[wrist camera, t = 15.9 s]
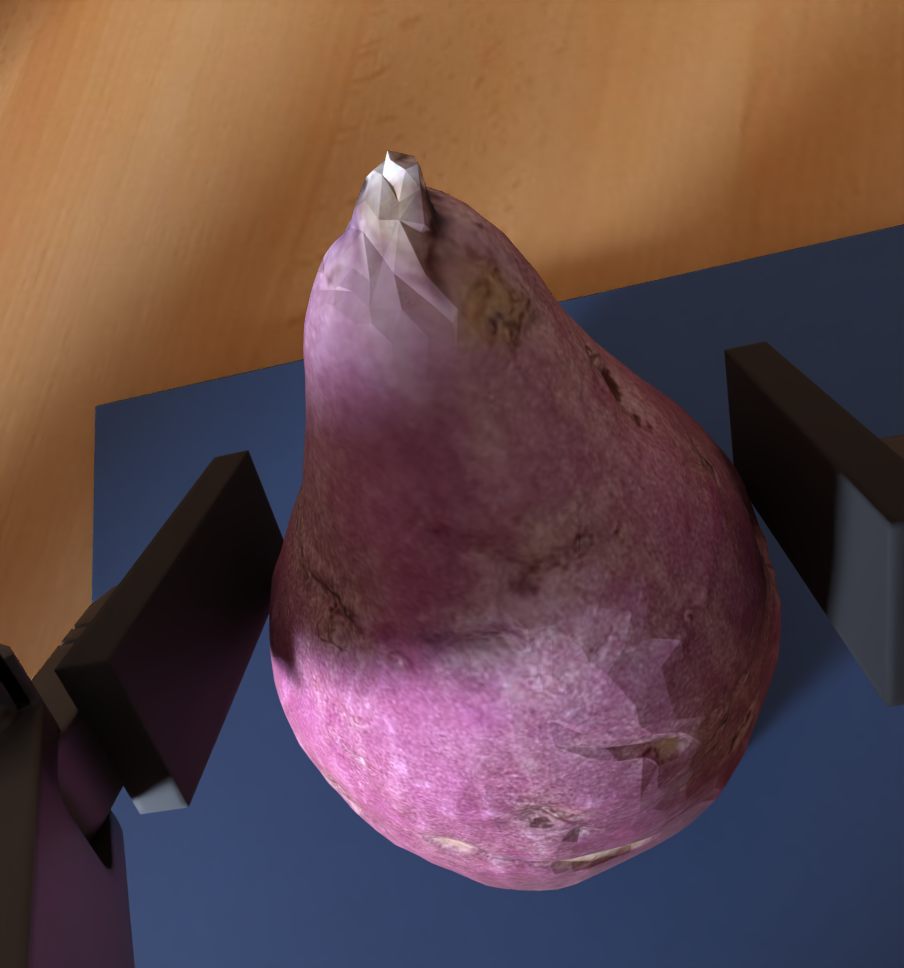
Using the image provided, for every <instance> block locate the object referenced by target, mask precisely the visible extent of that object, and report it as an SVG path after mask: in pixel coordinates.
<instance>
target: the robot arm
mask: <svg viewBox="0 0 904 968" xmlns="http://www.w3.org/2000/svg"><path fill="white" fill-rule="evenodd" d="M724 355H725V367H726V379H727V392H728V404H729V416H730V428H731V441H732V453H733V465H734V467H735V468H736V469H737V471H738V473H739V475H740V477H741V479H742V481H743V483H744V485H745V487H746V490H747V494H748V496H749V498H750V500H751V503H752V504H753V506H754V507H755V509H756V510H757V512H758V513H759V515H760V516H761V518H762V519H763V521H764V522H765V524H766V525H767V527H768V528H769V530H770V531H771V533H772V534H773V536H774V537H775V539H776V540H777V542H778V543H779V545H780V546H781V548H782V549H783V551H784V552H785V554H786V555H787V557H788V558H789V560H790V561H791V563H792V564H793V566H794V567H795V569H796V571H797V572H798V574H799V575H800V577H801V578H802V580H803V581H804V583H805V584H806V586H807V587H808V589H809V590H810V592H811V593H812V595H813V596H814V598H815V599H816V601H817V602H818V604H819V605H820V607H821V608H822V610H823V611H824V613H825V614H826V616H827V617H828V619H829V620H830V622H831V623H832V625H833V626H834V628H835V629H836V631H837V632H838V634H839V635H840V637H841V638H842V640H843V641H844V643H845V644H846V646H847V647H848V649H849V650H850V652H851V653H852V655H853V656H854V658H855V659H856V661H857V663H858V664H859V666H860V667H861V669H862V670H863V672H864V673H865V675H866V676H867V678H868V679H869V681H870V682H871V684H872V685H873V687H874V688H875V690H876V691H877V693H878V694H879V696H880V697H881V699H882V700H883V702H884V703H885V705H886V706H887V707H892V706H899V705H904V434H903V435H898V436H892V437H887V438H882V439H879V438H878V437H877V436H876V435H874V434H873V433H872V432H871V431H870V430H869V429H867V428H866V427H865V426H864V425H863V424H862V423H860V422H859V421H858V420H857V419H856V418H855V417H853V416H852V415H851V414H850V413H849V412H848V411H846V410H845V409H844V408H843V407H842V406H841V405H839V404H838V403H837V402H836V401H835V400H834V399H832V398H831V397H830V396H829V395H828V394H827V393H825V392H824V391H823V390H822V389H821V388H820V387H818V386H817V385H816V384H815V383H814V382H813V381H811V380H810V379H809V378H808V377H807V376H806V375H804V374H803V373H802V372H801V371H800V370H799V369H797V368H796V367H795V366H794V365H793V364H792V363H790V362H789V361H788V360H787V359H786V358H785V357H783V356H782V355H781V354H780V353H779V352H778V351H776V350H775V349H774V348H773V347H772V346H771V345H769V344H768V343H767V342H766V341H764V342H759V343H754V344H750V345H745V346H740V347H735V348H731V349H726V350H724ZM283 542H284V540H283V537H282V535H281V532H280V529H279V527H278V524H277V522H276V519H275V517H274V514H273V511H272V509H271V506H270V504H269V501H268V499H267V496H266V494H265V491H264V488H263V486H262V483H261V481H260V478H259V476H258V473H257V470H256V468H255V465H254V463H253V460H252V458H251V455H250V453H249V450H246V451H242V452H237V453H232V454H228V455H223V456H218V457H214V458H213V460H212V461H211V462H210V464H209V465H208V466H207V468H206V469H205V470H204V472H203V473H202V474H201V476H200V477H199V478H198V480H197V481H196V482H195V484H194V485H193V486H192V488H191V489H190V490H189V491H188V493H187V494H186V495H185V497H184V498H183V499H182V501H181V502H180V503H179V505H178V506H177V507H176V509H175V510H174V511H173V513H172V514H171V515H170V517H169V518H168V519H167V521H166V522H165V523H164V525H163V526H162V527H161V529H160V530H159V531H158V533H157V534H156V535H155V537H154V538H153V539H152V541H151V542H150V543H149V545H148V546H147V547H146V549H145V550H144V551H143V553H142V554H141V555H140V557H139V558H138V559H137V561H136V562H135V563H134V565H133V566H132V567H131V569H130V570H129V571H128V573H127V574H126V575H125V577H124V578H123V579H122V581H121V582H120V583H119V585H118V586H114V587H112V588H111V589H110V590H109V591H107V592H106V593H105V594H104V595H102V596H101V597H100V598H99V599H97V600H96V601H95V602H94V603H92V604H91V605H90V606H89V607H88V609H87V610H86V611H85V612H84V614H83V615H82V616H81V618H80V619H79V620H78V621H77V623H76V624H75V625H74V626H75V629H71V630H70V632H69V633H68V634H67V636H66V637H65V638H64V639H63V641H62V646H58V647H57V648H56V650H55V651H54V652H53V654H52V655H51V656H50V657H49V659H48V660H47V661H46V663H45V664H44V665H43V666H42V668H41V669H40V670H39V672H38V673H37V674H36V675H35V677H34V678H33V679H32V681H31V680H30V678H29V676H28V675H27V673H26V672H25V670H24V668H23V667H22V665H21V664H20V662H19V660H18V659H17V657H16V655H15V654H14V652H13V651H12V649H11V647H9V646H6V645H3V644H0V968H135V965H134V953H133V942H132V931H131V919H130V908H129V897H128V885H127V874H126V863H125V851H124V840H123V831H122V828H121V826H120V824H119V822H118V820H117V818H116V817H115V815H114V813H113V812H112V810H111V808H112V806H113V804H114V802H115V801H116V799H117V797H118V795H119V793H120V791H121V789H122V787H123V786H124V788H125V790H126V791H127V793H128V795H129V796H130V798H131V800H132V801H133V803H134V805H135V806H136V808H137V810H138V811H139V813H140V814H146V813H153V812H160V811H167V810H174V809H180V808H187V807H189V805H190V803H191V800H192V798H193V796H194V793H195V791H196V788H197V786H198V784H199V781H200V779H201V776H202V774H203V772H204V769H205V767H206V764H207V762H208V760H209V757H210V755H211V752H212V750H213V748H214V745H215V743H216V740H217V738H218V736H219V733H220V731H221V728H222V726H223V723H224V721H225V719H226V716H227V714H228V711H229V709H230V707H231V704H232V702H233V699H234V697H235V695H236V692H237V690H238V687H239V685H240V683H241V680H242V678H243V675H244V673H245V671H246V668H247V666H248V663H249V661H250V659H251V656H252V654H253V651H254V649H255V647H256V644H257V642H258V639H259V637H260V635H261V632H262V630H263V627H264V625H265V623H266V620H267V618H268V615H269V603H270V593H271V583H272V576H273V572H274V569H275V565H276V562H277V560H278V557H279V555H280V552H281V549H282V545H283Z"/></svg>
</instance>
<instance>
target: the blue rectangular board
mask: <svg viewBox="0 0 904 968" xmlns="http://www.w3.org/2000/svg"><path fill="white" fill-rule="evenodd" d="M558 303H559V304H560V305H561V306H562V307H563V309H564V310H565V311H566V312H567V313H568V314H569V316H570V317H571V318H572V319H573V320H574V321H575V322H576V323H577V324H578V325H579V326H580V327H581V328H582V329H583V330H584V331H585V332H586V333H587V334H588V335H589V336H590V337H591V338H592V339H593V340H594V341H595V342H596V343H597V344H599V345H600V346H601V347H602V348H604V349H605V350H606V351H607V352H609V353H610V354H611V355H612V356H614V357H615V358H616V359H617V360H619V361H620V362H621V363H623V364H624V365H625V366H626V367H628V368H629V369H630V370H632V371H633V372H634V373H635V374H637V375H638V376H639V377H640V378H641V379H642V380H644V381H646V382H647V383H649V384H650V385H652V386H653V387H654V388H656V389H657V390H659V391H660V392H662V393H664V394H665V395H666V396H667V397H669V398H670V399H671V400H673V401H674V402H675V403H676V404H678V405H679V406H680V407H681V408H683V409H684V410H685V411H686V412H687V413H688V414H689V415H690V416H691V417H692V418H693V419H694V420H695V421H696V422H697V423H698V424H699V425H700V426H701V427H703V428H704V430H705V431H706V432H707V434H708V435H709V436H710V437H711V439H712V440H713V441H714V442H715V443H716V444H717V445H718V446H719V447H720V448H721V449H722V450H723V452H724V453H725V454H726V455H727V456H728V458H729V459H730V461H731V462H732V464H733V453H732V441H731V428H730V416H729V404H728V392H727V379H726V367H725V355H724V350H726V349H731V348H735V347H740V346H745V345H750V344H754V343H759V342H764V341H766V342H767V343H768V344H769V345H771V346H772V347H773V348H774V349H775V350H776V351H778V352H779V353H780V354H781V355H782V356H783V357H785V358H786V359H787V360H788V361H789V362H790V363H792V364H793V365H794V366H795V367H796V368H797V369H799V370H800V371H801V372H802V373H803V374H804V375H806V376H807V377H808V378H809V379H810V380H811V381H813V382H814V383H815V384H816V385H817V386H818V387H820V388H821V389H822V390H823V391H824V392H825V393H827V394H828V395H829V396H830V397H831V398H832V399H834V400H835V401H836V402H837V403H838V404H839V405H841V406H842V407H843V408H844V409H845V410H846V411H848V412H849V413H850V414H851V415H852V416H853V417H855V418H856V419H857V420H858V421H859V422H860V423H862V424H863V425H864V426H865V427H866V428H867V429H869V430H870V431H871V432H872V433H873V434H874V435H876V436H877V437H878V438H879V439H882V438H887V437H892V436H898V435H903V434H904V224H903V225H899V226H894V227H890V228H885V229H881V230H877V231H872V232H868V233H863V234H859V235H854V236H850V237H845V238H841V239H836V240H832V241H828V242H823V243H819V244H814V245H810V246H805V247H801V248H796V249H792V250H788V251H783V252H779V253H774V254H770V255H765V256H761V257H756V258H752V259H748V260H743V261H739V262H734V263H730V264H725V265H721V266H716V267H712V268H708V269H703V270H699V271H694V272H690V273H685V274H681V275H676V276H672V277H667V278H663V279H659V280H654V281H650V282H645V283H641V284H636V285H632V286H627V287H623V288H619V289H614V290H610V291H605V292H601V293H596V294H592V295H587V296H583V297H579V298H574V299H570V300H565V301H561V302H558ZM305 427H306V396H305V366H304V359H303V360H298V361H294V362H289V363H285V364H281V365H276V366H272V367H267V368H263V369H258V370H254V371H249V372H245V373H241V374H236V375H232V376H227V377H223V378H218V379H214V380H209V381H205V382H201V383H196V384H192V385H187V386H183V387H178V388H174V389H169V390H165V391H160V392H156V393H152V394H147V395H143V396H138V397H134V398H129V399H125V400H120V401H116V402H112V403H107V404H103V405H98V406H96V407H95V454H94V508H93V562H92V603H94V602H95V601H96V600H97V599H99V598H100V597H101V596H102V595H104V594H105V593H106V592H107V591H109V590H110V589H111V588H112V587H114V586H118V585H119V583H120V582H121V581H122V579H123V578H124V577H125V575H126V574H127V573H128V571H129V570H130V569H131V567H132V566H133V565H134V563H135V562H136V561H137V559H138V558H139V557H140V555H141V554H142V553H143V551H144V550H145V549H146V547H147V546H148V545H149V543H150V542H151V541H152V539H153V538H154V537H155V535H156V534H157V533H158V531H159V530H160V529H161V527H162V526H163V525H164V523H165V522H166V521H167V519H168V518H169V517H170V515H171V514H172V513H173V511H174V510H175V509H176V507H177V506H178V505H179V503H180V502H181V501H182V499H183V498H184V497H185V495H186V494H187V493H188V491H189V490H190V489H191V488H192V486H193V485H194V484H195V482H196V481H197V480H198V478H199V477H200V476H201V474H202V473H203V472H204V470H205V469H206V468H207V466H208V465H209V464H210V462H211V461H212V460H213V458H214V457H218V456H223V455H228V454H232V453H237V452H242V451H246V450H249V453H250V455H251V458H252V460H253V463H254V465H255V468H256V470H257V473H258V476H259V478H260V481H261V483H262V486H263V488H264V491H265V494H266V496H267V499H268V501H269V504H270V506H271V509H272V511H273V514H274V517H275V519H276V522H277V524H278V527H279V529H280V532H281V535H282V537H283V540H284V538H285V534H286V530H287V527H288V523H289V520H290V516H291V513H292V509H293V507H294V504H295V502H296V499H297V496H298V494H299V491H300V488H301V485H302V482H303V459H304V442H305ZM752 506H753V504H752ZM753 509H754V512H755V515H756V518H757V521H758V524H759V526H760V528H761V530H762V532H763V534H764V536H765V538H766V540H767V546H768V554H769V559H770V561H771V563H772V566H773V568H774V571H775V577H776V583H777V589H778V594H779V598H780V601H781V633H780V648H779V657H778V661H777V665H776V668H775V672H774V675H773V678H772V681H771V685H770V687H769V690H768V692H767V695H766V697H765V700H764V703H763V706H762V708H761V711H760V713H759V716H758V718H757V721H756V723H755V726H754V729H753V732H752V734H751V737H750V740H749V743H748V746H747V748H746V751H745V753H744V755H743V757H742V759H741V760H740V762H739V764H738V766H737V768H736V769H735V771H734V773H733V774H732V776H731V777H730V779H729V781H728V782H727V784H726V786H725V787H724V789H723V790H722V792H721V794H720V795H719V796H718V798H717V799H716V800H715V801H714V802H713V803H712V804H711V805H710V806H709V807H708V808H707V809H706V810H705V811H704V812H703V813H702V814H701V815H700V816H698V817H697V818H696V819H695V820H694V821H693V822H692V823H691V824H689V825H688V826H687V827H685V828H684V829H683V830H681V831H680V832H678V833H677V834H675V835H673V836H672V837H670V838H668V839H666V840H665V841H663V842H661V843H659V844H658V845H656V846H654V847H652V848H650V849H648V850H646V851H644V852H642V853H640V854H638V855H636V856H634V857H632V858H630V859H628V860H626V861H624V862H622V863H620V864H618V865H616V866H614V867H612V868H610V869H607V870H605V871H603V872H601V873H599V874H597V875H595V876H592V877H590V878H588V879H586V880H584V881H582V882H580V883H577V884H574V885H571V886H568V887H564V888H561V889H558V890H542V891H528V890H514V889H503V888H497V887H492V886H487V885H484V884H482V883H479V882H477V881H475V880H472V879H470V878H468V877H465V876H463V875H461V874H459V873H456V872H454V871H451V870H448V869H446V868H443V867H441V866H438V865H436V864H433V863H431V862H429V861H427V860H425V859H424V858H422V857H420V856H418V855H416V854H414V853H412V852H410V851H408V850H406V849H404V848H401V847H399V846H397V845H395V844H394V843H392V842H391V841H390V840H388V839H387V838H386V837H384V836H383V835H382V834H380V833H379V832H378V831H376V830H375V829H374V828H373V827H372V826H371V825H369V824H368V823H367V822H366V821H365V820H364V819H363V818H362V817H360V816H359V815H358V814H357V813H356V812H355V811H354V810H353V809H352V808H351V807H350V805H349V804H348V803H347V802H346V801H345V800H344V799H343V797H342V796H341V795H340V794H339V793H338V792H337V791H336V790H335V789H334V788H333V787H332V786H331V785H330V784H329V783H328V782H327V780H326V779H325V778H324V776H323V775H322V773H321V772H320V771H319V769H318V768H317V767H316V766H315V764H314V763H313V762H312V760H311V759H310V758H309V757H308V755H307V754H306V752H305V751H304V750H303V748H302V747H301V746H300V744H299V742H298V740H297V738H296V736H295V734H294V732H293V730H292V728H291V725H290V723H289V721H288V719H287V717H286V715H285V712H284V710H283V707H282V705H281V702H280V699H279V696H278V692H277V689H276V685H275V681H274V674H273V668H272V660H271V652H270V640H269V615H268V618H267V620H266V623H265V625H264V627H263V630H262V632H261V635H260V637H259V639H258V642H257V644H256V647H255V649H254V651H253V654H252V656H251V659H250V661H249V663H248V666H247V668H246V671H245V673H244V675H243V678H242V680H241V683H240V685H239V687H238V690H237V692H236V695H235V697H234V699H233V702H232V704H231V707H230V709H229V711H228V714H227V716H226V719H225V721H224V723H223V726H222V728H221V731H220V733H219V736H218V738H217V740H216V743H215V745H214V748H213V750H212V752H211V755H210V757H209V760H208V762H207V764H206V767H205V769H204V772H203V774H202V776H201V779H200V781H199V784H198V786H197V788H196V791H195V793H194V796H193V798H192V800H191V803H190V805H189V807H187V808H180V809H174V810H167V811H160V812H153V813H146V814H140V813H139V811H138V810H137V808H136V806H135V805H134V803H133V801H132V800H131V798H130V796H129V795H128V793H127V791H126V790H125V788H124V786H123V787H122V789H121V791H120V793H119V795H118V797H117V799H116V801H115V802H114V804H113V806H112V808H111V810H112V812H113V813H114V815H115V817H116V818H117V820H118V822H119V824H120V826H121V828H122V831H123V840H124V851H125V863H126V874H127V885H128V897H129V908H130V919H131V931H132V942H133V953H134V965H135V968H904V705H899V706H892V707H887V706H886V705H885V703H884V702H883V700H882V699H881V697H880V696H879V694H878V693H877V691H876V690H875V688H874V687H873V685H872V684H871V682H870V681H869V679H868V678H867V676H866V675H865V673H864V672H863V670H862V669H861V667H860V666H859V664H858V663H857V661H856V659H855V658H854V656H853V655H852V653H851V652H850V650H849V649H848V647H847V646H846V644H845V643H844V641H843V640H842V638H841V637H840V635H839V634H838V632H837V631H836V629H835V628H834V626H833V625H832V623H831V622H830V620H829V619H828V617H827V616H826V614H825V613H824V611H823V610H822V608H821V607H820V605H819V604H818V602H817V601H816V599H815V598H814V596H813V595H812V593H811V592H810V590H809V589H808V587H807V586H806V584H805V583H804V581H803V580H802V578H801V577H800V575H799V574H798V572H797V571H796V569H795V567H794V566H793V564H792V563H791V561H790V560H789V558H788V557H787V555H786V554H785V552H784V551H783V549H782V548H781V546H780V545H779V543H778V542H777V540H776V539H775V537H774V536H773V534H772V533H771V531H770V530H769V528H768V527H767V525H766V524H765V522H764V521H763V519H762V518H761V516H760V515H759V513H758V512H757V510H756V509H755V507H754V506H753Z"/></svg>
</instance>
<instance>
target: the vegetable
mask: <svg viewBox="0 0 904 968" xmlns="http://www.w3.org/2000/svg"><path fill="white" fill-rule="evenodd" d="M303 355H304V366H305V396H306V427H305V442H304V459H303V482H302V485H301V488H300V491H299V494H298V496H297V499H296V502H295V504H294V507H293V509H292V513H291V516H290V520H289V523H288V527H287V530H286V534H285V538H284V542H283V545H282V549H281V552H280V555H279V557H278V560H277V562H276V565H275V569H274V572H273V576H272V583H271V593H270V603H269V640H270V652H271V660H272V668H273V674H274V681H275V685H276V689H277V692H278V696H279V699H280V702H281V705H282V707H283V710H284V712H285V715H286V717H287V719H288V721H289V723H290V725H291V728H292V730H293V732H294V734H295V736H296V738H297V740H298V742H299V744H300V746H301V747H302V748H303V750H304V751H305V752H306V754H307V755H308V757H309V758H310V759H311V760H312V762H313V763H314V764H315V766H316V767H317V768H318V769H319V771H320V772H321V773H322V775H323V776H324V778H325V779H326V780H327V782H328V783H329V784H330V785H331V786H332V787H333V788H334V789H335V790H336V791H337V792H338V793H339V794H340V795H341V796H342V797H343V799H344V800H345V801H346V802H347V803H348V804H349V805H350V807H351V808H352V809H353V810H354V811H355V812H356V813H357V814H358V815H359V816H360V817H362V818H363V819H364V820H365V821H366V822H367V823H368V824H369V825H371V826H372V827H373V828H374V829H375V830H376V831H378V832H379V833H380V834H382V835H383V836H384V837H386V838H387V839H388V840H390V841H391V842H392V843H394V844H395V845H397V846H399V847H401V848H404V849H406V850H408V851H410V852H412V853H414V854H416V855H418V856H420V857H422V858H424V859H425V860H427V861H429V862H431V863H433V864H436V865H438V866H441V867H443V868H446V869H448V870H451V871H454V872H456V873H459V874H461V875H463V876H465V877H468V878H470V879H472V880H475V881H477V882H479V883H482V884H484V885H487V886H492V887H497V888H503V889H514V890H528V891H542V890H558V889H561V888H564V887H568V886H571V885H574V884H577V883H580V882H582V881H584V880H586V879H588V878H590V877H592V876H595V875H597V874H599V873H601V872H603V871H605V870H607V869H610V868H612V867H614V866H616V865H618V864H620V863H622V862H624V861H626V860H628V859H630V858H632V857H634V856H636V855H638V854H640V853H642V852H644V851H646V850H648V849H650V848H652V847H654V846H656V845H658V844H659V843H661V842H663V841H665V840H666V839H668V838H670V837H672V836H673V835H675V834H677V833H678V832H680V831H681V830H683V829H684V828H685V827H687V826H688V825H689V824H691V823H692V822H693V821H694V820H695V819H696V818H697V817H698V816H700V815H701V814H702V813H703V812H704V811H705V810H706V809H707V808H708V807H709V806H710V805H711V804H712V803H713V802H714V801H715V800H716V799H717V798H718V796H719V795H720V794H721V792H722V790H723V789H724V787H725V786H726V784H727V782H728V781H729V779H730V777H731V776H732V774H733V773H734V771H735V769H736V768H737V766H738V764H739V762H740V760H741V759H742V757H743V755H744V753H745V751H746V748H747V746H748V743H749V740H750V737H751V734H752V732H753V729H754V726H755V723H756V721H757V718H758V716H759V713H760V711H761V708H762V706H763V703H764V700H765V697H766V695H767V692H768V690H769V687H770V685H771V681H772V678H773V675H774V672H775V668H776V665H777V661H778V657H779V648H780V633H781V601H780V598H779V594H778V589H777V583H776V577H775V571H774V568H773V566H772V563H771V561H770V559H769V554H768V546H767V540H766V538H765V536H764V534H763V532H762V530H761V528H760V526H759V524H758V521H757V518H756V515H755V512H754V509H753V506H752V503H751V500H750V498H749V496H748V494H747V490H746V487H745V485H744V483H743V481H742V479H741V477H740V475H739V473H738V471H737V469H736V468H735V467H734V465H733V464H732V462H731V461H730V459H729V458H728V456H727V455H726V454H725V453H724V452H723V450H722V449H721V448H720V447H719V446H718V445H717V444H716V443H715V442H714V441H713V440H712V439H711V437H710V436H709V435H708V434H707V432H706V431H705V430H704V428H703V427H701V426H700V425H699V424H698V423H697V422H696V421H695V420H694V419H693V418H692V417H691V416H690V415H689V414H688V413H687V412H686V411H685V410H684V409H683V408H681V407H680V406H679V405H678V404H676V403H675V402H674V401H673V400H671V399H670V398H669V397H667V396H666V395H665V394H664V393H662V392H660V391H659V390H657V389H656V388H654V387H653V386H652V385H650V384H649V383H647V382H646V381H644V380H642V379H641V378H640V377H639V376H638V375H637V374H635V373H634V372H633V371H632V370H630V369H629V368H628V367H626V366H625V365H624V364H623V363H621V362H620V361H619V360H617V359H616V358H615V357H614V356H612V355H611V354H610V353H609V352H607V351H606V350H605V349H604V348H602V347H601V346H600V345H599V344H597V343H596V342H595V341H594V340H593V339H592V338H591V337H590V336H589V335H588V334H587V333H586V332H585V331H584V330H583V329H582V328H581V327H580V326H579V325H578V324H577V323H576V322H575V321H574V320H573V319H572V318H571V317H570V316H569V314H568V313H567V312H566V311H565V310H564V309H563V307H562V306H561V305H560V304H559V303H558V302H557V300H556V299H555V298H554V296H553V295H552V293H551V292H550V290H549V289H548V287H547V286H546V284H545V283H544V282H543V280H542V279H541V277H540V276H539V274H538V273H537V271H536V270H535V269H534V268H533V267H532V266H531V264H530V263H529V262H528V261H527V260H526V259H525V257H524V256H523V255H522V254H521V253H520V252H519V250H518V249H517V248H516V247H515V246H514V244H513V243H512V242H511V241H510V240H509V239H508V237H507V236H506V235H505V234H504V233H503V232H502V231H500V230H499V229H498V228H497V227H495V226H494V225H493V224H492V223H490V222H489V221H488V220H486V219H485V218H484V217H483V216H481V215H480V214H479V213H478V212H476V211H475V210H474V209H472V208H471V207H470V206H469V205H467V204H466V203H464V202H462V201H460V200H458V199H456V198H454V197H452V196H450V195H448V194H446V193H444V192H442V191H439V190H435V189H432V188H429V187H426V184H425V181H424V178H423V174H422V171H421V168H420V166H419V164H418V162H417V160H416V158H415V157H414V156H411V155H407V154H403V153H398V152H394V151H390V150H387V155H386V159H385V160H384V161H383V162H382V163H381V164H379V165H378V166H377V167H376V168H375V169H374V170H373V171H372V172H371V173H370V174H369V175H368V176H367V177H366V178H365V181H364V184H363V186H362V189H361V191H360V194H359V197H358V199H357V202H356V204H355V207H354V210H353V216H352V218H351V220H350V222H349V224H348V226H347V228H346V230H345V232H344V233H343V234H342V235H341V236H340V237H339V238H338V239H337V240H336V241H335V242H334V243H333V244H332V245H331V247H330V248H329V250H328V251H327V253H326V254H325V256H324V257H323V260H322V262H321V265H320V267H319V270H318V273H317V276H316V279H315V282H314V285H313V287H312V291H311V295H310V299H309V304H308V308H307V313H306V317H305V322H304V346H303Z"/></svg>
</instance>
